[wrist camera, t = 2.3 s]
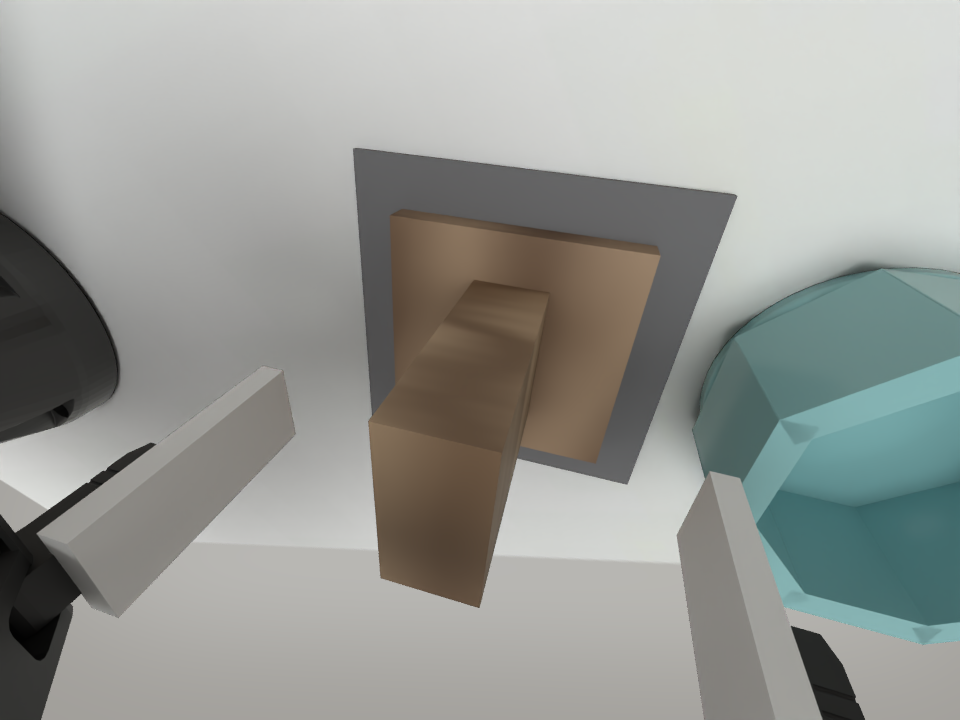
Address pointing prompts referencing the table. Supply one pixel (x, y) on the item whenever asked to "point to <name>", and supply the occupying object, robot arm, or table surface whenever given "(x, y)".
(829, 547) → the bowl
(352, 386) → the table surface
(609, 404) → the cover lid
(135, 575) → the robot arm
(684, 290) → the mat
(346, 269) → the table surface
